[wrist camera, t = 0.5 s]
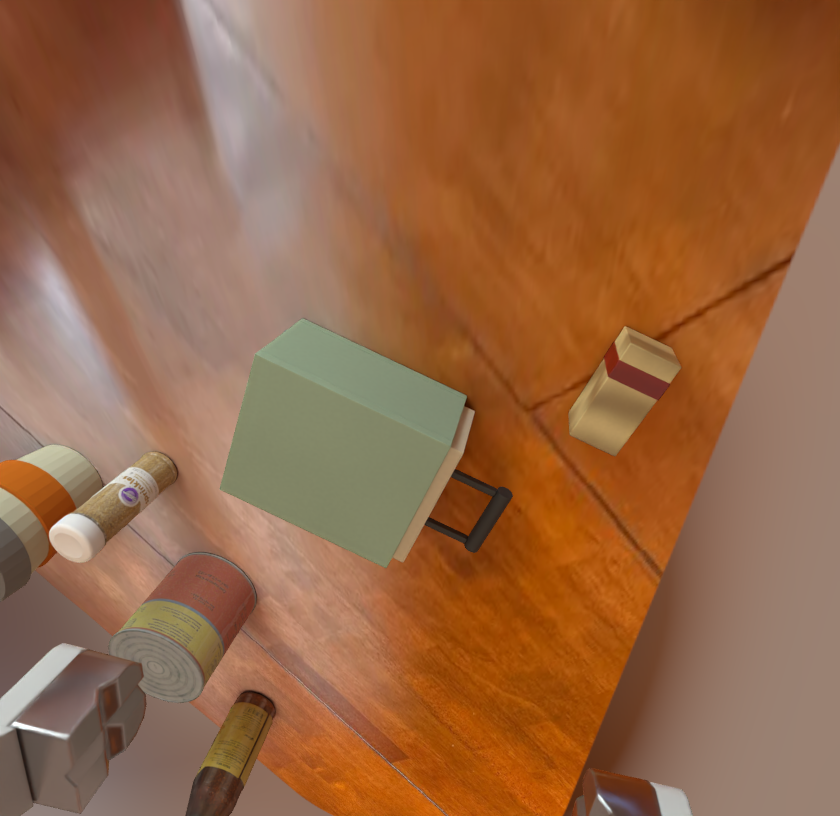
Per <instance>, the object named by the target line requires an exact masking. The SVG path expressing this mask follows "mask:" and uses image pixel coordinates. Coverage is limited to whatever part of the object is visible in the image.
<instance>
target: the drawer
mask: <svg viewBox="0 0 840 816" xmlns="http://www.w3.org/2000/svg"><path fill="white" fill-rule="evenodd" d="M474 414H475V411H473V410H471V409H469V408H467V407H465V406H464V408H463V411H462V414H461V417H460V420H459V423H458V426H457V429H456V433H455V436H454V439H453V442H452V445H451V448H450V449H449V451H448V453H447V455H446V457H445V459H444V461H443V463H442V465H441V466H440V468H439V470H438V472H437V474H436V476H435V478H434V480H433V481H432V483H431V485H430V487H429V489H428V491H427V493H426V495H425V497H424V498H423V500H422V502H421V504H420V506H419V508H418V510H417V512H416V514H415V515H414V517H413V519H412V521H411V523H410V525H409V527H408V529H407V530H406V532H405V534H404V536H403V538H402V540H401V542H400V544H399V546H398V547H397V549H396V551H395V553H394V555H393V557H392V558H394V559H396V560H398V561H401V562H404V560H405V559H406V557H407V555H408V553H409V551H410V550H411V548H412V546H413V544H414V542H415V540H416V539H417V537H418V535H419V533H420V531H421V530H422V528H423V526H424V525H426V526H428V527H430V528H432V529H434V530H437V531H439V532H441V533H443V534H445V535H447V536H449V537H451V538H453V539H456V540H458V541H460V542H462V543H464V545H465V548H466V549H467V550H468V551H470V552H473V553H475V552H477V551H478V550H479V548H480V547H481V545H482V543H483V542H484V540H485V539H486V537H487V536H488V534H489V533H490V531H491V530H492V528H493V526H494V525H495V523H496V522H497V520H498V519H499V517H500V516H501V514H502V513H503V511H504V509H505V508H506V506H507V505H508V503H509V502H510V500H511V499H512V497H513V495H512V492H511V491H510V490H509V489H507V488H505V487H499V488H498V489H496V488H494V487H492V486H490V485H488V484H486V483H484V482H482V481H480V480H478V479H475V478H473V477H471V476H469V475H467V474H465V473H463V472H461V471H458V470H456V469H455V468H456V466H457V464H458V462H459V461H460V459H461V457H462V455H463V453H464V450H465V446H466V442H467V439H468V435H469V432H470V428H471V424H472V421H473V417H474ZM450 477H452V478H454V479H456V480H458V481H461V482H463V483H465V484H467V485H469V486H471V487H473V488H475V489H477V490H480V491H482V492H484V493H486V494H488V495H490V496H492V499H491V501H490V502H489V504H488V505H487V507H486V509H485V510H484V512H483V513H482V515H481V517H480V518H479V520H478V521H477V523H476V525H475V526H474V528H473V530H472V531H471V533H470V534H469V536H467V535H466V534H463V533H461V532H459V531H457V530H455V529H453V528H451V527H449V526H447V525H444V524H442V523H440V522H438V521H436V520H434V519H432V518H430V517H429V515H430V513H431V511H432V510H433V508H434V506H435V504H436V502H437V501H438V499H439V497H440V495H441V493H442V491H443V490H444V488H445V486H446V484H447V482H448V481H449V479H450Z"/></svg>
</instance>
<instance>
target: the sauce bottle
mask: <svg viewBox="0 0 840 816" xmlns="http://www.w3.org/2000/svg"><path fill="white" fill-rule="evenodd" d="M274 717H275V709H274V706H273V704H272V703H271V702H270V701H269V700H268V699H267V698H266V697H264V696H262V695H260V694H257V693H251V692H248V693H243V694H241V695H240V696H239V697H238V698H237V700H236V702H235V703H234V705H233V706H232V707H231V709H230V711H229V713H228V715H227V717H226V719H225V721H224V723H223V725H222V727H221V729H220V731H219V732H218V734H217V736H216V738H215V740H214V742H213V744H212V746H211V748H210V750H209V752H208V754H207V756H206V758H205V760H204V762H203V764H202V766H201V767H200V769H199V771H198V773H197V775H196V777H195V779H194V782H193V786H192V790H191V794H190V799H189V803H188V807H187V812H186V816H229V815H230V814H231V813H232V811H233V809H234V807H235V805H236V802H237V800H238V798H239V796H240V793H241V791H242V790H243V788H244V786H245V784H246V782H247V779H248V777H249V775H250V772H251V770H252V768H253V766H254V763H255V761H256V759H257V757H258V754H259V752H260V750H261V747H262V745H263V743H264V741H265V738H266V736H267V734H268V732H269V729H270V727H271V725H272V720H273V718H274Z"/></svg>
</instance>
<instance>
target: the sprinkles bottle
mask: <svg viewBox="0 0 840 816" xmlns="http://www.w3.org/2000/svg"><path fill="white" fill-rule="evenodd" d="M176 477H177V470H176V467H175V466H174V464H173V462H172V461H171V460H170V459H169V458H168V457H167V456H165V455H164V454H161V453H159V452H148V453H146V454H144V455H143V456H142V458H141V459H140V460H138V461H137V462H136V463H134V464H133V465H132V466H131V467H129V468H128V469H126V470H125V471H123V472H122V473H121V474H120V475H118V476H117V477H116V478H115V479H113V480H112V481H111V482H110V483H108V484H107V485H106V486H105V487H103V488H102V489H101V490H100V491H98V492H97V493H96V494H95V495H93V496H92V497H91V498H90V499H89V500H88V501H86V502H85V503H84V504H83V505H82V506H80V507H79V508H78V509H77V510H75V511H74V512H72V513H70V514H68V515H66V516H65V517H63V518H62V519H61V520H59V521H58V522H57V523H56V524H55V525H53V526H52V528H51V529H50V531H49V539H50V542H51V544H52V546H53V547H54V548H55V550H56V551H57V552H58V553H59V554H60V555H62V556H63V557H65V558H66V559H68V560H70V561H73V562H77V563H84V562H87V561H89V560H90V559H92V558H93V557H94V556H95V555H96V554H97V553H99V552H100V551H101V550H102V549H103V547H104V546H105V545H106V543H107V542H108V541H109V540H110V539H111V538H112V537H113V536H114V535H116V534H117V533H118V532H119V531H120V530H121V529H122V528H123V527H125V526H126V525H127V524H128V523H129V522H130V521H131V520H132V519H133V518H134V517H135V516H137V515H138V514H139V513H140V512H141V511H142V510H143V509H145V508H146V507H147V506H148V505H149V504H150V503H151V502H152V501H153V500H154V499H155V498H156V497H157V496H158V495H159V494H160V493H161V492H162V491H163V490H165V489H166V488H167V487H168V486H169V485H171V484H173V483H174V482H175V480H176Z"/></svg>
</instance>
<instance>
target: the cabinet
mask: <svg viewBox="0 0 840 816" xmlns="http://www.w3.org/2000/svg"><path fill="white" fill-rule="evenodd" d="M466 399H467V396H466V395H464V394H462V393H460V392H458V391H456V390H454V389H451V388H449V387H447V386H445V385H443V384H441V383H439V382H437V381H434V380H432V379H430V378H428V377H426V376H424V375H422V374H420V373H418V372H415V371H413V370H411V369H409V368H407V367H405V366H403V365H401V364H399V363H396V362H394V361H392V360H390V359H388V358H386V357H384V356H382V355H379V354H377V353H375V352H373V351H371V350H369V349H367V348H365V347H363V346H360V345H358V344H356V343H354V342H352V341H350V340H348V339H346V338H344V337H341V336H339V335H337V334H335V333H333V332H331V331H329V330H327V329H325V328H322V327H320V326H318V325H316V324H314V323H312V322H310V321H308V320H305V319H303V318H302V319H301V320H300V321H298V322H297V323H296V324H294V325H293V326H292V327H290V328H289V329H288V330H286V331H285V332H284V333H282V334H281V335H280V336H278V337H277V338H276V339H274V340H273V341H272V342H270V343H269V344H268V345H266V346H265V347H264V348H262V349H261V350H260V351H258V352H257V353H256V354H255V356H254V360H253V364H252V368H251V372H250V375H249V379H248V383H247V387H246V391H245V394H244V398H243V402H242V406H241V410H240V413H239V417H238V421H237V425H236V429H235V432H234V436H233V440H232V444H231V448H230V452H229V455H228V459H227V463H226V467H225V471H224V474H223V478H222V482H221V486H220V490H222V491H224V492H226V493H228V494H230V495H233V496H235V497H237V498H239V499H241V500H243V501H245V502H247V503H249V504H251V505H254V506H256V507H258V508H260V509H262V510H264V511H266V512H268V513H270V514H273V515H275V516H277V517H279V518H281V519H283V520H285V521H287V522H289V523H292V524H294V525H296V526H298V527H300V528H302V529H304V530H306V531H308V532H311V533H313V534H315V535H317V536H319V537H321V538H323V539H325V540H327V541H330V542H332V543H334V544H336V545H338V546H340V547H342V548H344V549H346V550H349V551H351V552H353V553H355V554H357V555H359V556H361V557H363V558H365V559H367V560H370V561H372V562H374V563H376V564H378V565H380V566H382V567H384V568H387V566H388V564H389V562H390V561H391V559H392V557H393V555H394V553H395V551H396V549H397V547H398V546H399V544H400V542H401V540H402V538H403V536H404V534H405V532H406V530H407V529H408V527H409V525H410V523H411V521H412V519H413V517H414V515H415V514H416V512H417V510H418V508H419V506H420V504H421V502H422V500H423V498H424V497H425V495H426V493H427V491H428V489H429V487H430V485H431V483H432V481H433V480H434V478H435V476H436V474H437V472H438V470H439V468H440V466H441V465H442V463H443V461H444V459H445V457H446V455H447V453H448V451H449V449H450V448H451V445H452V442H453V439H454V436H455V433H456V429H457V426H458V423H459V420H460V417H461V414H462V411H463V408H464V405H465V402H466Z"/></svg>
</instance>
